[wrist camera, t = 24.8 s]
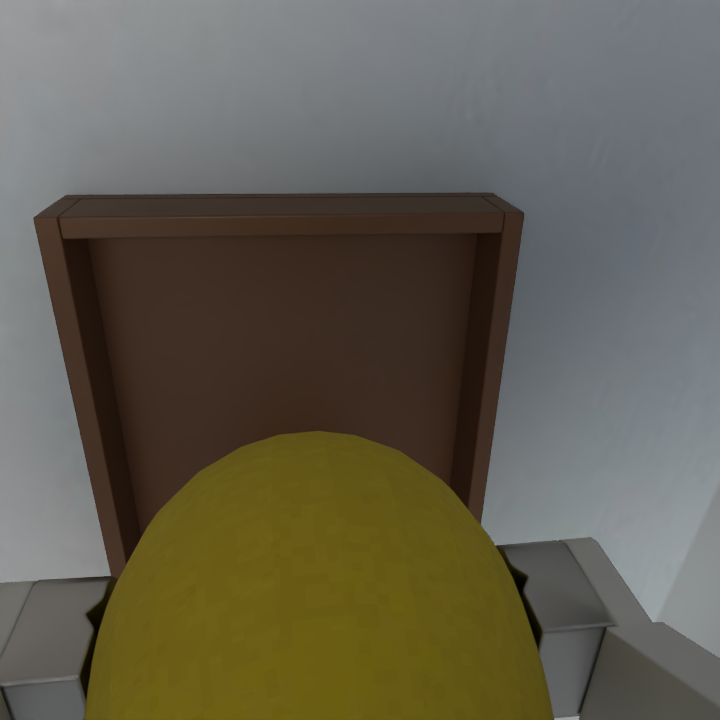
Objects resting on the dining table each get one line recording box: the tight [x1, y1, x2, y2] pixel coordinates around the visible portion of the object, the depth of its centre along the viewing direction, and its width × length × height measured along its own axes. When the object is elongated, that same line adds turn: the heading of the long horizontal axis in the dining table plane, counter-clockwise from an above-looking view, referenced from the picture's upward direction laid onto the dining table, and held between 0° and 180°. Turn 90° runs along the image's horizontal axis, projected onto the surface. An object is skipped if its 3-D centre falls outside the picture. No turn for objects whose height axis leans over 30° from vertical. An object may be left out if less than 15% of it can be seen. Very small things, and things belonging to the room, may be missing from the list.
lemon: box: [84, 431, 554, 720], centre depth 8 cm, size 6×6×8 cm
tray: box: [34, 193, 524, 580], centre depth 22 cm, size 13×17×3 cm
